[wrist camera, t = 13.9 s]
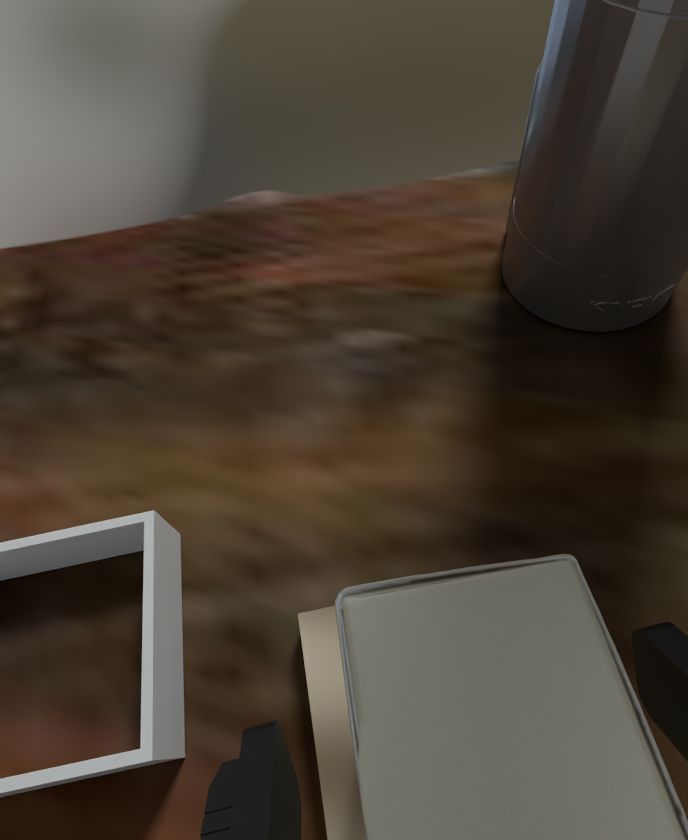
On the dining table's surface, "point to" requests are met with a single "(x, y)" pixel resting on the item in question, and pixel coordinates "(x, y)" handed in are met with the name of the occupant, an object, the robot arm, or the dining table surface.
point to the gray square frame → (158, 633)
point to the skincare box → (497, 710)
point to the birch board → (331, 725)
